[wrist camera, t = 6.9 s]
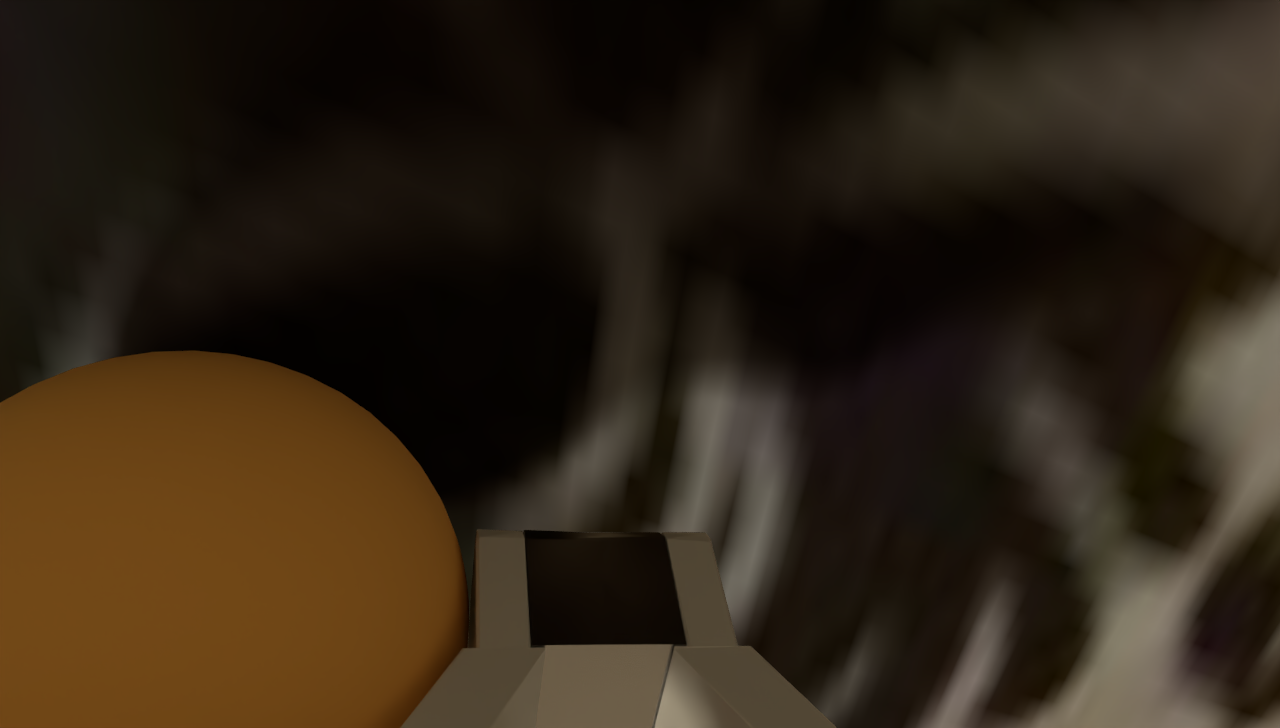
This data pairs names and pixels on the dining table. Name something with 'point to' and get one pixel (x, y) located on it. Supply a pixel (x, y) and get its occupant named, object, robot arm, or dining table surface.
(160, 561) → the ball
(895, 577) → the dining table surface
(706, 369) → the dining table surface
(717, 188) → the dining table surface
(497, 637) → the robot arm
